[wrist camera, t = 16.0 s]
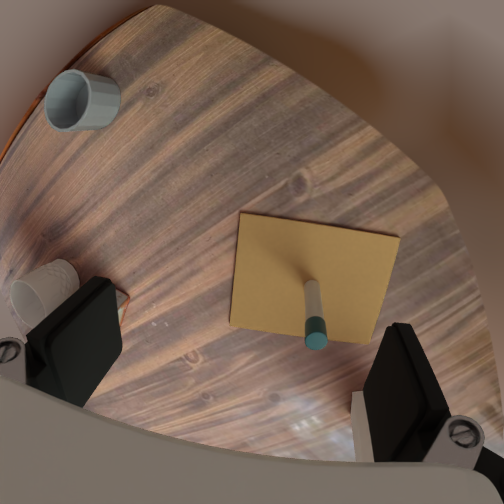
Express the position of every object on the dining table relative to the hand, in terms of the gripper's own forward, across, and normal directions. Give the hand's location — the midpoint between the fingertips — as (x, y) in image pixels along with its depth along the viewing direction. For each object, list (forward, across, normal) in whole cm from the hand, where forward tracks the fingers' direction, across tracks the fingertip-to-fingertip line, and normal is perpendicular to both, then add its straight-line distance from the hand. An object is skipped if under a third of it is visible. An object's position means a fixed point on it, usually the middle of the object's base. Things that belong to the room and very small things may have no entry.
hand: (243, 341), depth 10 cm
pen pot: (+30, +25, -10) cm, 40 cm away
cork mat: (+29, -6, +12) cm, 32 cm away
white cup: (+29, +32, +18) cm, 47 cm away
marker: (+29, -6, +12) cm, 32 cm away
